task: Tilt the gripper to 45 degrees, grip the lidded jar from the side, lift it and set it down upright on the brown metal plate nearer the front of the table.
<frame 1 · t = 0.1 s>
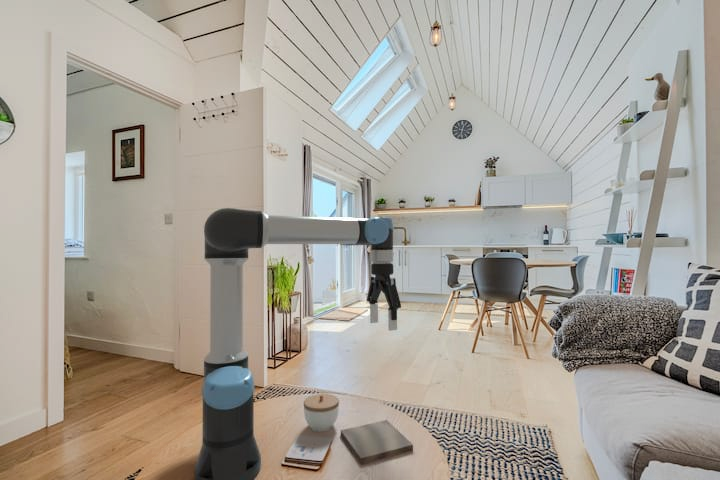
hand: (383, 326, 117), 28 cm above the table, tool pointing down, fingers open, 13 cm apart
lidded jar: (321, 427, 106), on the table
brown metal plate: (375, 442, 96), on the table
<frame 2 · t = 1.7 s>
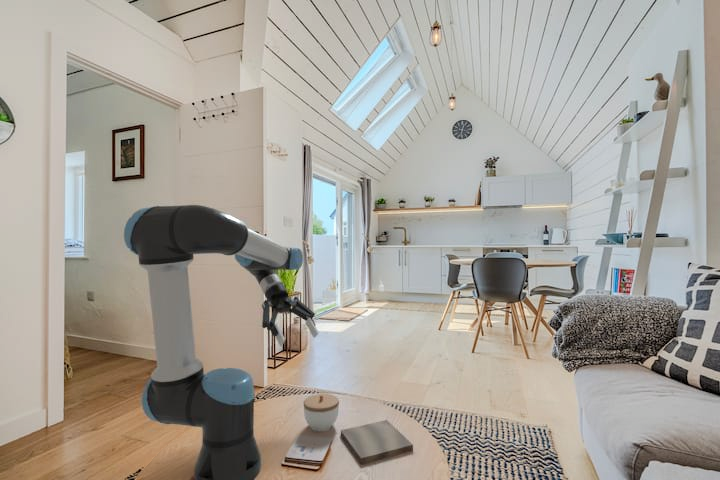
hand: (300, 339, 114), 25 cm above the table, tool tilted 45°, fingers open, 13 cm apart
nothing on the table moved.
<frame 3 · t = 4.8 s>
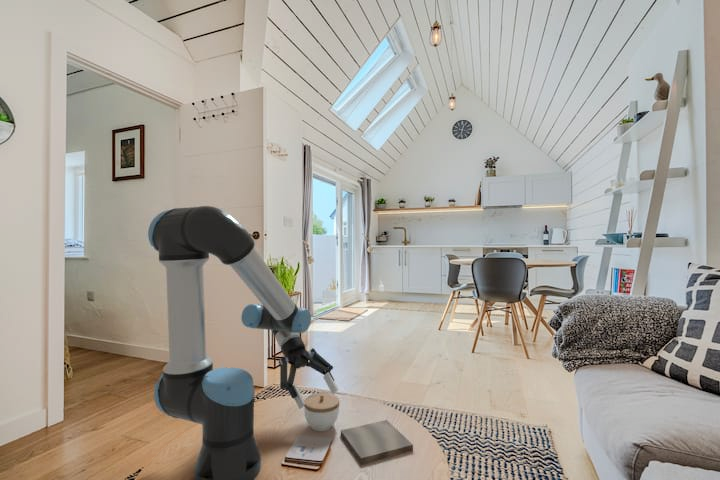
hand: (320, 399, 108), 7 cm above the table, tool tilted 45°, fingers open, 13 cm apart
lidded jar: (321, 426, 106), on the table, touching gripper
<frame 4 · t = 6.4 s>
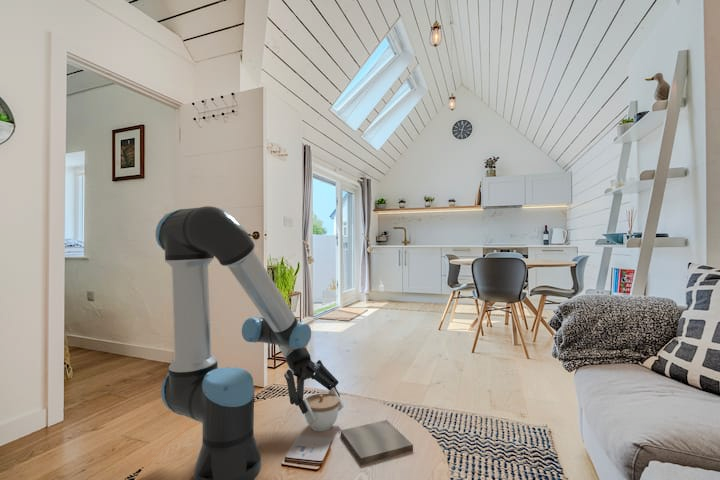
hand: (327, 415, 104), 4 cm above the table, tool tilted 45°, fingers closed on lidded jar, 11 cm apart
lidded jar: (321, 427, 106), on the table, touching gripper
when the fingers open (7 cm above the table, at t = 12.5 s): lidded jar stays where it is, resting on brown metal plate.
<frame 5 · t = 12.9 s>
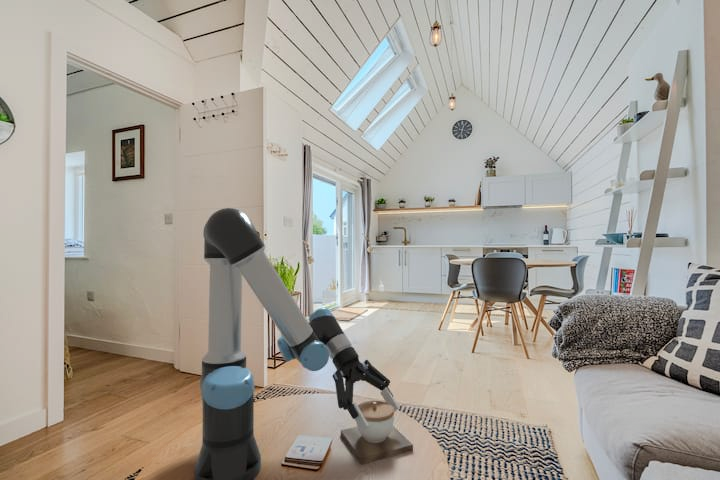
hand: (381, 418, 95), 7 cm above the table, tool tilted 45°, fingers open, 13 cm apart
lidded jar: (375, 437, 96), point 1 cm above the table, touching brown metal plate
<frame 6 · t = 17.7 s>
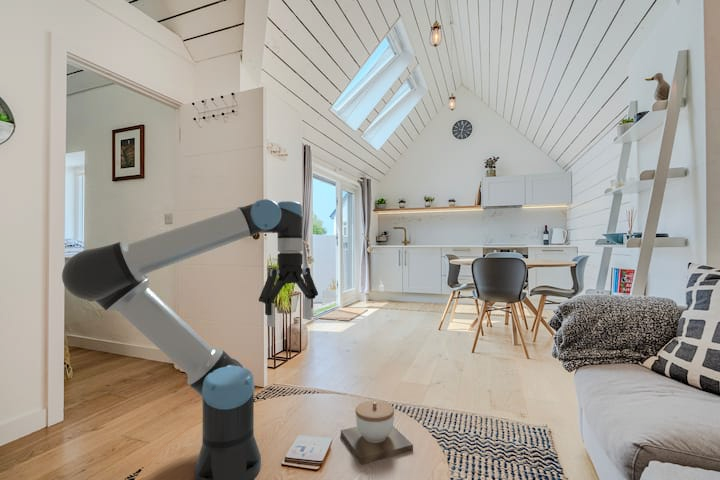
hand: (290, 322, 105), 32 cm above the table, tool pointing down, fingers open, 13 cm apart
nothing on the table moved.
at the end: lidded jar inside the target area on the brown metal plate (0.1 cm from its centre), point 1.3 cm above the brown metal plate's base; lidded jar tilted 0°; the gripper is holding nothing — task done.
